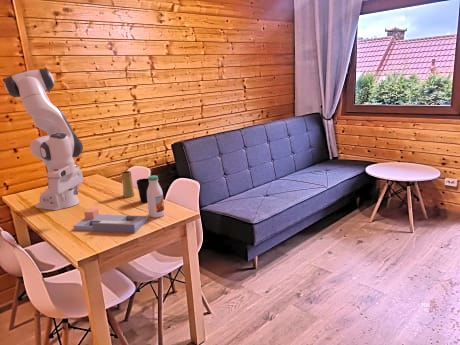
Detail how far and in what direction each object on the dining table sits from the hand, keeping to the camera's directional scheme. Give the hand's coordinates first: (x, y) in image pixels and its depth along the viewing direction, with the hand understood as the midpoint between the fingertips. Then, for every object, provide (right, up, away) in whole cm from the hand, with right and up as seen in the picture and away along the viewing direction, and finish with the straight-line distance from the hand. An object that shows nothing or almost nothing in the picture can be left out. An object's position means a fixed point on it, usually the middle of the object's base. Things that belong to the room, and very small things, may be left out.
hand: (70, 197), depth 167 cm
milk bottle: (+38, -9, +10) cm, 41 cm away
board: (+19, -13, +1) cm, 23 cm away
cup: (+28, -4, +31) cm, 42 cm away
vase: (+16, -2, +41) cm, 44 cm away
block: (+8, -10, +6) cm, 14 cm away
